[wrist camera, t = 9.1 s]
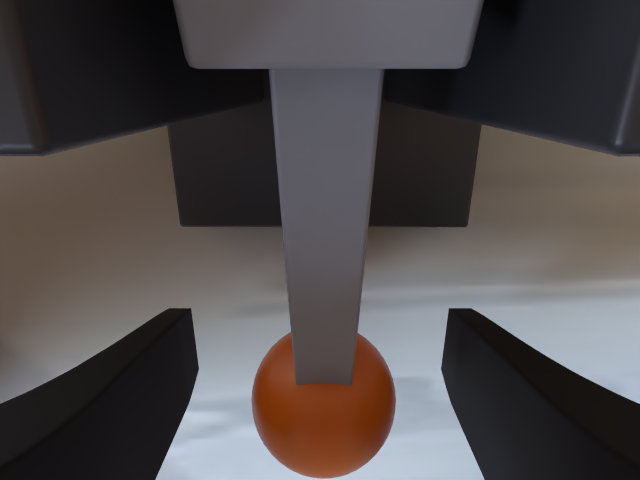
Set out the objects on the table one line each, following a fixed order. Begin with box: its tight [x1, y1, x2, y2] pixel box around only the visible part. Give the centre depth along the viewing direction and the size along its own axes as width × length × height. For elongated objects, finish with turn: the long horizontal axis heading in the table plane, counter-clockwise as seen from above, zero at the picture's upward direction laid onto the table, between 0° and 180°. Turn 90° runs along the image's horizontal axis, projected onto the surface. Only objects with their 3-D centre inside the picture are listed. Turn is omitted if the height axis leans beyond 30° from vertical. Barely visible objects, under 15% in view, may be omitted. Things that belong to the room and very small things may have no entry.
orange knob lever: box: [173, 0, 484, 478], centre depth 6 cm, size 12×3×3 cm, turn 179°
